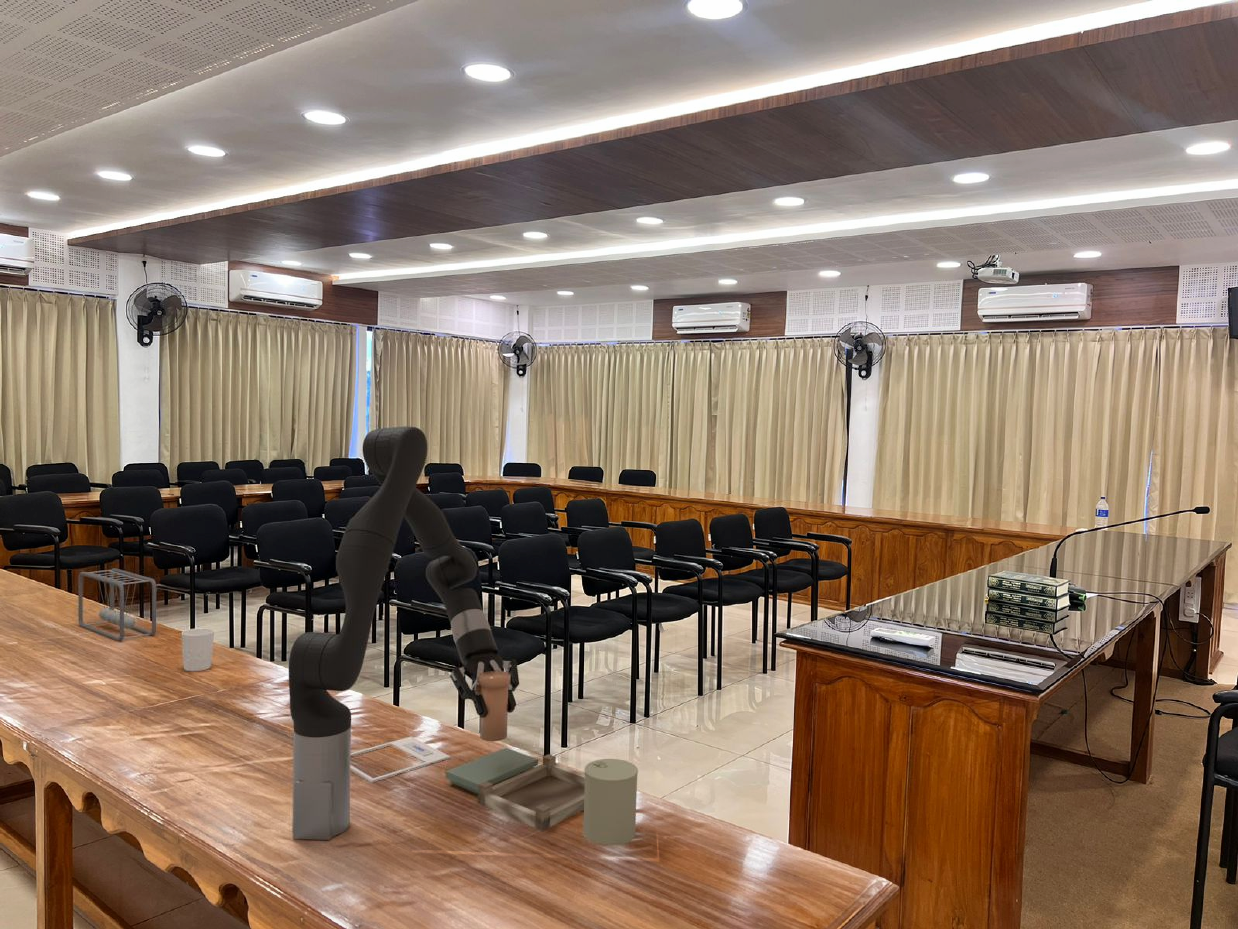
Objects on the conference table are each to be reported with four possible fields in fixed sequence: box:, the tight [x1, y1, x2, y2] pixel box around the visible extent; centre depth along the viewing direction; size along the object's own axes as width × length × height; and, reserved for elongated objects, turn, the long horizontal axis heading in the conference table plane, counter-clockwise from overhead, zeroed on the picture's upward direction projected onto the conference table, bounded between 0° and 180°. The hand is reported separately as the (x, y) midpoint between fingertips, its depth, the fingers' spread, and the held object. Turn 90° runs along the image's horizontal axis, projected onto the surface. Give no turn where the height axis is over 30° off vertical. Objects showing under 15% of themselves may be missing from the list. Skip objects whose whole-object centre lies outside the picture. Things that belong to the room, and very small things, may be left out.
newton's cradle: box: [77, 568, 157, 642], centre depth 269 cm, size 30×10×18 cm, turn 53°
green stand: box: [445, 747, 539, 795], centre depth 168 cm, size 9×16×3 cm, turn 142°
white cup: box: [181, 627, 215, 672], centre depth 234 cm, size 8×8×10 cm
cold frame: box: [477, 754, 585, 832], centre depth 159 cm, size 16×19×4 cm
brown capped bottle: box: [479, 670, 511, 742], centre depth 167 cm, size 6×6×12 cm
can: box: [582, 758, 639, 846], centre depth 147 cm, size 9×9×12 cm
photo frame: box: [350, 736, 451, 784], centre depth 176 cm, size 15×1×18 cm
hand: (498, 713), depth 166 cm, fingers closed on brown capped bottle, 5 cm apart
